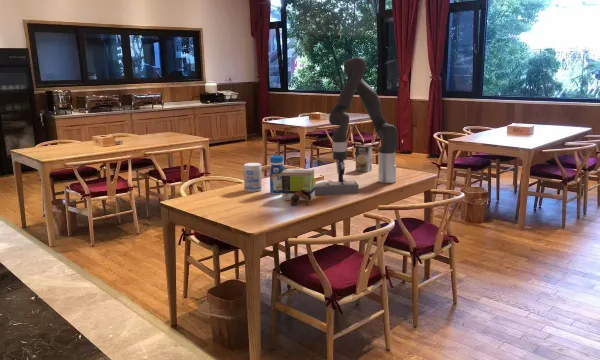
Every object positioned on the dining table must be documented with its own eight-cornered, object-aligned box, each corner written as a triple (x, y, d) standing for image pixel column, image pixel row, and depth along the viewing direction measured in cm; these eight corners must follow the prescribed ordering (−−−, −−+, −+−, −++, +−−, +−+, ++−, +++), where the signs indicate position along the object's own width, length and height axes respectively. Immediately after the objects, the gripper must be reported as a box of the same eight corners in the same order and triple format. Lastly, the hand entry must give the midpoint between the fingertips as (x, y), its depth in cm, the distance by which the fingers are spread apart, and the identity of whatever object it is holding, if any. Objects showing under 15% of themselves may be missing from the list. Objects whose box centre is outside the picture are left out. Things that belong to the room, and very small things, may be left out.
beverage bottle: (275, 190, 276) (274, 154, 271) (288, 191, 272) (287, 155, 267) (266, 193, 269) (265, 157, 264) (280, 195, 265) (278, 158, 260)
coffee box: (354, 170, 320) (355, 146, 317) (359, 169, 326) (359, 144, 322) (368, 172, 316) (368, 147, 312) (372, 170, 321) (372, 145, 317)
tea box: (315, 196, 261) (314, 168, 258) (310, 201, 252) (309, 172, 249) (287, 195, 265) (286, 167, 262) (281, 200, 256) (280, 171, 253)
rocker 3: (352, 183, 272) (353, 180, 271) (354, 185, 268) (354, 182, 267) (341, 182, 271) (342, 178, 271) (343, 183, 267) (344, 180, 266)
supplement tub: (246, 193, 271) (245, 166, 268) (242, 189, 280) (241, 163, 276) (264, 191, 274) (263, 165, 271) (259, 187, 283) (258, 161, 279)
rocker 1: (324, 182, 270) (323, 179, 270) (325, 184, 266) (324, 181, 265) (313, 185, 270) (312, 182, 269) (314, 187, 265) (313, 184, 265)
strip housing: (354, 188, 275) (354, 180, 274) (358, 193, 266) (358, 184, 265) (309, 191, 273) (309, 182, 272) (311, 195, 264) (311, 186, 263)
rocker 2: (338, 184, 271) (338, 180, 271) (339, 186, 267) (340, 182, 266) (327, 183, 270) (328, 179, 270) (328, 185, 266) (329, 181, 266)
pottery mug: (294, 201, 254) (302, 188, 252) (308, 212, 250) (316, 198, 248) (282, 201, 243) (290, 187, 242) (296, 212, 239) (304, 198, 237)
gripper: (349, 151, 258) (350, 184, 263) (344, 147, 271) (345, 178, 275) (335, 152, 258) (336, 185, 262) (330, 148, 270) (331, 179, 275)
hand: (340, 181), depth 269 cm, fingers closed
